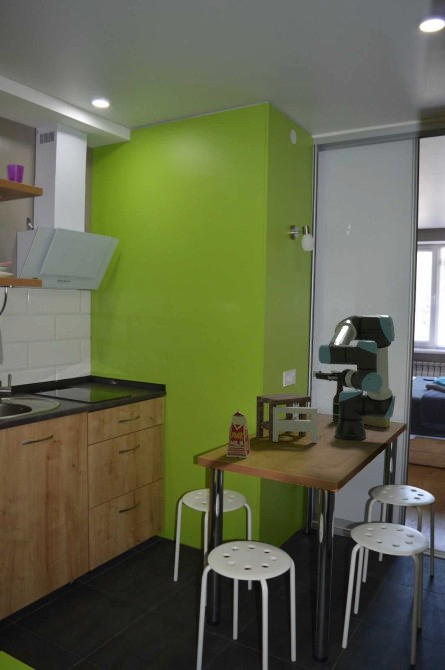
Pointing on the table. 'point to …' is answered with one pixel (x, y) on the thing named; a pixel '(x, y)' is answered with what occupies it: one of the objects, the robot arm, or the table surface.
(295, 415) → the beer glass
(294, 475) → the table surface
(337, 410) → the beer bottle
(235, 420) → the milk carton
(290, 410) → the gate leg
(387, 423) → the cheese
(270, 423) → the stool
